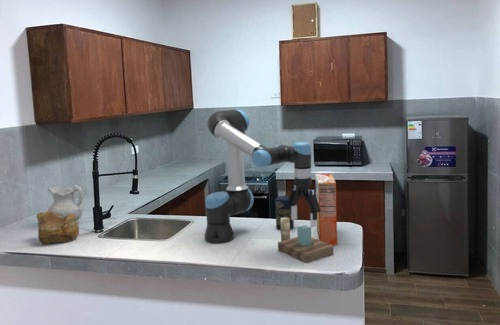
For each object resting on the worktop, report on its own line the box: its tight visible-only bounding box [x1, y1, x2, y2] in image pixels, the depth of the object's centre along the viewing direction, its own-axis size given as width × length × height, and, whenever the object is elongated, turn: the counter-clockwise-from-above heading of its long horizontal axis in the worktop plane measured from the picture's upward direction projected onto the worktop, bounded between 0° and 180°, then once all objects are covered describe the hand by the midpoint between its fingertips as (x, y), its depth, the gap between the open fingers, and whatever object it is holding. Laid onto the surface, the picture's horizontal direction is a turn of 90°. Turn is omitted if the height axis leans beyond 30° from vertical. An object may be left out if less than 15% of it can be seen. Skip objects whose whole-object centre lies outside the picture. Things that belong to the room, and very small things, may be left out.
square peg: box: [297, 224, 312, 247], centre depth 206 cm, size 4×4×12 cm
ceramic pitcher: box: [47, 184, 84, 225], centre depth 269 cm, size 22×20×25 cm
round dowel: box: [280, 218, 291, 241], centre depth 221 cm, size 4×4×12 cm
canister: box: [274, 194, 295, 230], centre depth 243 cm, size 10×10×18 cm
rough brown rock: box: [36, 210, 80, 245], centre depth 240 cm, size 23×17×15 cm
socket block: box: [277, 236, 334, 264], centre depth 207 cm, size 20×16×4 cm
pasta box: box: [315, 173, 338, 246], centre depth 225 cm, size 23×8×30 cm, turn 175°
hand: (303, 223), depth 205 cm, fingers open, 13 cm apart
